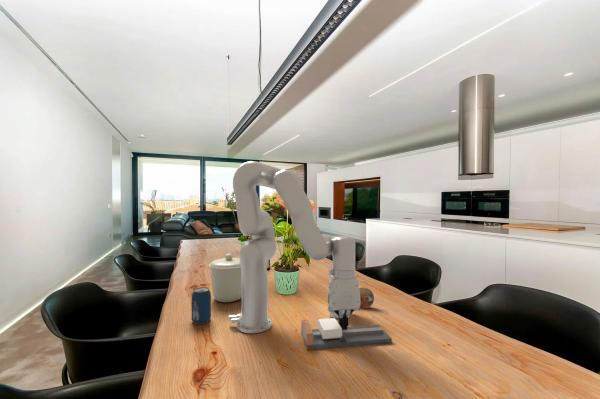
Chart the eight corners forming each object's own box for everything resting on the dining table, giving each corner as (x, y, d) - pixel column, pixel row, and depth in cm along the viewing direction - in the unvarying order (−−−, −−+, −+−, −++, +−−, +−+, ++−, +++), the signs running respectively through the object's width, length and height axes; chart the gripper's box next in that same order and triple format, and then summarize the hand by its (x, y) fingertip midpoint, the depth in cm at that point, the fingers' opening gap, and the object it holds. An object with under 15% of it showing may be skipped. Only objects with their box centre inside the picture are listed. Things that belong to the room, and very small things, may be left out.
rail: (306, 350, 86) (306, 333, 86) (301, 334, 96) (301, 319, 96) (391, 343, 90) (391, 327, 90) (378, 328, 100) (378, 315, 100)
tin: (338, 304, 123) (338, 285, 123) (340, 302, 126) (340, 283, 126) (373, 310, 117) (373, 290, 117) (374, 307, 120) (374, 287, 120)
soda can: (211, 316, 110) (211, 286, 110) (210, 324, 103) (210, 291, 103) (192, 318, 108) (193, 287, 108) (190, 326, 101) (190, 293, 101)
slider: (323, 341, 87) (323, 330, 87) (317, 329, 95) (317, 319, 95) (341, 339, 88) (341, 328, 88) (334, 328, 96) (334, 318, 96)
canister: (244, 290, 141) (245, 249, 141) (251, 303, 124) (251, 255, 124) (207, 294, 135) (207, 251, 135) (209, 308, 118) (209, 258, 118)
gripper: (324, 277, 88) (324, 335, 88) (369, 275, 90) (369, 332, 90) (319, 271, 95) (318, 324, 95) (360, 269, 98) (360, 321, 98)
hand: (343, 328), depth 93 cm, fingers closed
